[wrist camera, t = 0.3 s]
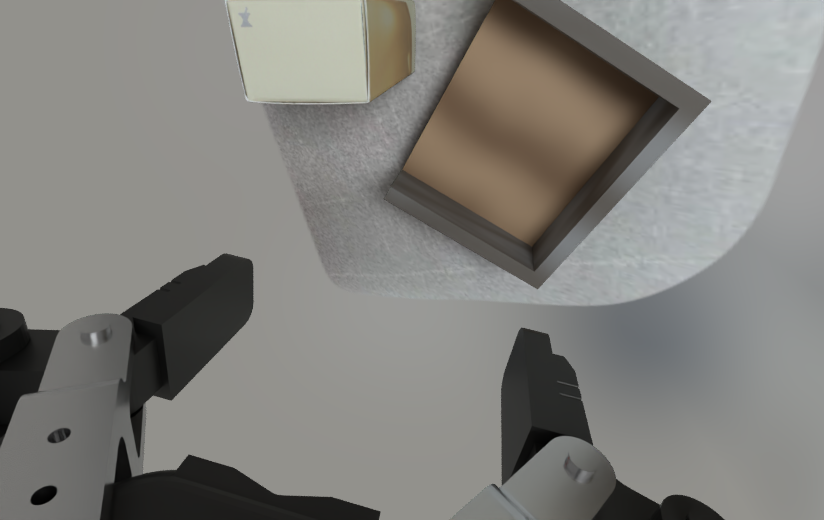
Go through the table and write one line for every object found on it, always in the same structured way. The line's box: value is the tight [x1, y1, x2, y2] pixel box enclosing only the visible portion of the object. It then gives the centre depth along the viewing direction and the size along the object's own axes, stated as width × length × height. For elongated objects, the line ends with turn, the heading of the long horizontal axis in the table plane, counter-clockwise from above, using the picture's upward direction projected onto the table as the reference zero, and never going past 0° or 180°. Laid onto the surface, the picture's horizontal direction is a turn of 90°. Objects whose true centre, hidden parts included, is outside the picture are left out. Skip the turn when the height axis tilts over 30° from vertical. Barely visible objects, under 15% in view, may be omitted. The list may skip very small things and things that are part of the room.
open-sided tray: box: [384, 0, 711, 289], centre depth 27 cm, size 14×12×6 cm
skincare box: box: [225, 0, 416, 105], centre depth 23 cm, size 6×4×12 cm
